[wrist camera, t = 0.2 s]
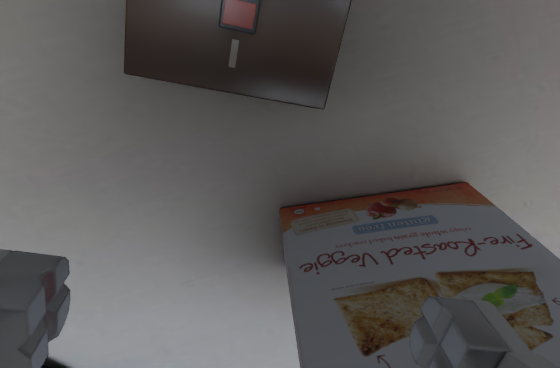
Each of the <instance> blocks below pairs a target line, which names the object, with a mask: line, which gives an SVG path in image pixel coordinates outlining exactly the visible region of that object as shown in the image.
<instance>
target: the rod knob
mask: <svg viewBox="0 0 560 368" xmlns="http://www.w3.org/2000/svg"><path fill="white" fill-rule="evenodd" d="M260 2H261V0H222V1H221V9H220V17H219V25H218V26H219V27H220V28H225V29H230V30H235V31H240V32H244V33H249V34H255V33H256V27H257V20H258V14H259V8H260Z"/></svg>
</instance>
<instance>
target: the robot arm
mask: <svg viewBox="0 0 560 368" xmlns="http://www.w3.org/2000/svg"><path fill="white" fill-rule="evenodd" d="M69 274H70V271H69V260H68V259H67V258H66V257H61V256H53V255H46V254H38V253H30V252H22V251H11V250H4V249H0V368H41V367H42V365H43V363H44V361H45V360H46V358H47V356H48V354H49V353H48V342H49V341H51V340H53V339H54V338H56V337H57V336H59V334H60V332H61V330H62V328H63V326H64V324H65V321H66V318H67V314H68V311H69V305H70V289H69V288H68V287H67V286H66V285H65V284H64V282H65V280H66V278H67V277H68V275H69ZM420 309H421V311H422V314H423V316H422V317H421V318H419V319H418V320H417V321H415V322H414V324H413V326H412V329H411V331H410V341H409V345H410V350H411V354H412V356H413V359H414V361H415V363H416V364H417V365H418V366H419V367H421V368H559V367H558V366H556V365H555V364H553V363H552V362H550V361H549V360H547V359H546V358H544V357H543V356H541V355H537V354H533V352H532V351H531V350H530V349H529V348H528V346H527V345H526V344H525V343H524V341H523V340H522V339H521V338H520V336H519V335H518V334H517V333H516V332H515V330H514V329H513V328H512V327H511V325H510V324H509V323H508V322H507V320H506V319H505V318H504V317H503V316H502V314H501V313H500V312H499V311H498V309H497V308H496V307H495V306H494V305H493V304H492V303H490V302H488V301H484V300H472V299H467V300H465V299H455V298H445V297H435V296H429V297H427V298H426V299H425V300H424V302H423V304H422V306H421V308H420Z"/></svg>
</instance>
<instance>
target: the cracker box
mask: <svg viewBox="0 0 560 368" xmlns="http://www.w3.org/2000/svg"><path fill="white" fill-rule="evenodd" d="M280 218H281V228H282V237H283V247H284V255H285V263H286V270H287V278H288V285H289V292H290V299H291V306H292V313H293V320H294V327H295V334H296V341H297V348H298V355H299V362H300V368H421V367H419V366H418V365H417V364H416V363H415V361H414V359H413V356H412V354H411V350H410V345H409V341H410V331H411V329H412V326H413V324H414V322H415V321H417V320H418V319H419V318H421V317H422V316H423V314H422V311H421V309H420V308H421V306H422V304H423V302H424V300H425V299H426V298H427V297H429V296H435V297H445V298H455V299H465V300H467V299H472V300H484V301H488V302H490V303H492V304H493V305H494V306H495V307H496V308H497V309H498V311H499V312H500V313H501V314H502V316H503V317H504V318H505V319H506V320H507V322H508V323H509V324H510V325H511V327H512V328H513V329H514V330H515V332H516V333H517V334H518V335H519V336H520V338H521V339H522V340H523V341H524V343H525V344H526V345H527V346H528V348H529V349H530V350H531V351H532V352H533V354H537V355H541V356H543V357H544V358H546V359H547V360H549V361H550V362H552V363H553V364H555V365H556V366H558V367H559V368H560V259H559V258H558V257H557V256H555V255H554V254H553V253H552V252H551V251H549V250H548V249H547V248H546V247H545V246H543V245H542V244H541V243H540V242H539V241H537V240H536V239H535V238H533V237H532V236H531V235H530V234H529V233H528V232H526V231H525V230H524V229H523V228H522V227H521V226H519V225H518V224H517V223H516V222H514V221H513V220H512V219H511V218H510V217H509V216H507V215H506V214H505V213H504V212H502V211H501V210H500V209H499V208H497V207H496V206H495V205H494V204H493V203H491V202H490V201H489V200H488V199H487V198H486V197H484V196H483V195H482V194H481V193H479V192H478V191H477V190H476V189H474V188H473V187H472V186H471V185H470V184H469V183H467V182H464V183H458V184H451V185H445V186H438V187H430V188H423V189H417V190H410V191H403V192H395V193H388V194H381V195H374V196H367V197H359V198H352V199H345V200H338V201H331V202H323V203H316V204H308V205H301V206H294V207H287V208H281V209H280Z"/></svg>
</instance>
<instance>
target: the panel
mask: <svg viewBox="0 0 560 368" xmlns="http://www.w3.org/2000/svg"><path fill="white" fill-rule="evenodd" d="M221 1H222V0H126V24H125V54H124V73H125V74H129V75H134V76H140V77H145V78H151V79H156V80H162V81H167V82H173V83H178V84H184V85H189V86H195V87H201V88H206V89H212V90H217V91H223V92H228V93H234V94H239V95H245V96H250V97H256V98H261V99H267V100H272V101H278V102H284V103H289V104H295V105H300V106H306V107H311V108H317V109H322V110H323V109H324V108H325V104H326V100H327V96H328V92H329V88H330V84H331V80H332V76H333V72H334V68H335V64H336V61H337V57H338V53H339V49H340V45H341V41H342V37H343V33H344V29H345V25H346V21H347V17H348V13H349V9H350V5H351V1H352V0H261V2H260V8H259V14H258V20H257V27H256V33H255V34H249V33H244V32H240V31H235V30H230V29H225V28H220V27H219V26H218V25H219V17H220V9H221Z"/></svg>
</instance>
